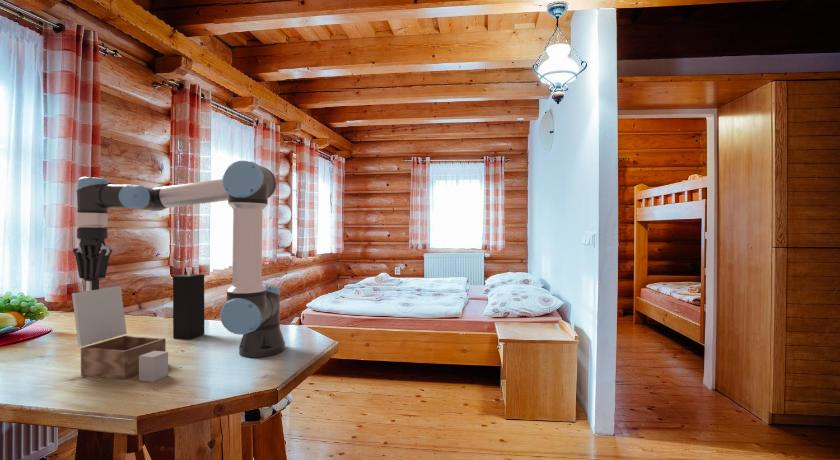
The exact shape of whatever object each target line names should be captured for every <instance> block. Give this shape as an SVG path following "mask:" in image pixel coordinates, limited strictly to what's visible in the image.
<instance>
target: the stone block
mask: <svg viewBox="0 0 840 460" xmlns="http://www.w3.org/2000/svg"><path fill="white" fill-rule="evenodd" d="M168 376H169V351H166V352H164V351H152V352H149V353H146V354H143V355H140V356H139V374H138V380H139V381H143V382H144V381H145V382H151V383H153V382H156V381H158V380H160V379H163V378H165V377H168Z"/></svg>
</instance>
